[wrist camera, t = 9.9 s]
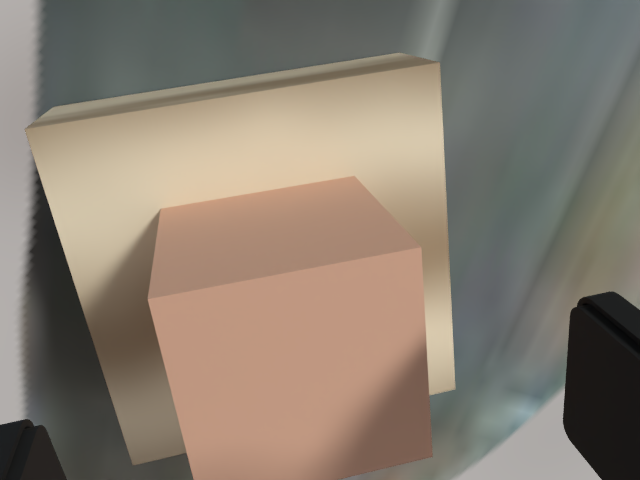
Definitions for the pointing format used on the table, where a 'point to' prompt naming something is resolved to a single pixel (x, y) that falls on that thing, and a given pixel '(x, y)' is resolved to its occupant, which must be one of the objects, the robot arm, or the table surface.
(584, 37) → the table surface
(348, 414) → the cube
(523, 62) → the table surface
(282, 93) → the base
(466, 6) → the table surface
